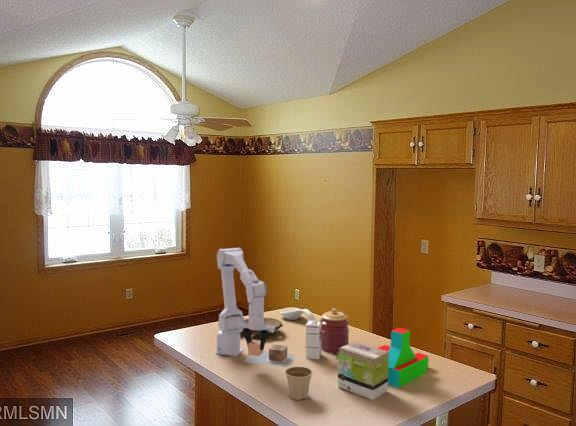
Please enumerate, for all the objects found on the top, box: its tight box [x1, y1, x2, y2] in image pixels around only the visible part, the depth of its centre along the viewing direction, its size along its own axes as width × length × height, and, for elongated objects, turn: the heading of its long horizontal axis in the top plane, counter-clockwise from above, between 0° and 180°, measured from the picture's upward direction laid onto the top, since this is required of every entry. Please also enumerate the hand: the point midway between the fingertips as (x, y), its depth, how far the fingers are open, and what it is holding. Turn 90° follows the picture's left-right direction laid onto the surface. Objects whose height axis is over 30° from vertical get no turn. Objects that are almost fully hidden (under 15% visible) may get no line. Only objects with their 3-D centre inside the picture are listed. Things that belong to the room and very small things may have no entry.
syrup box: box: [305, 320, 322, 360], centre depth 205 cm, size 6×6×14 cm
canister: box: [319, 307, 350, 354], centre depth 216 cm, size 13×13×18 cm
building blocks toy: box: [377, 327, 430, 389], centre depth 192 cm, size 19×25×18 cm
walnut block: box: [268, 344, 288, 362], centre depth 202 cm, size 6×6×4 cm
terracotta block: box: [247, 339, 264, 356], centre depth 191 cm, size 4×4×4 cm
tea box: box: [337, 341, 389, 401], centre depth 174 cm, size 15×10×15 cm, turn 48°
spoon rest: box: [279, 308, 316, 322], centre depth 256 cm, size 24×12×7 cm, turn 38°
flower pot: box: [284, 366, 314, 401], centre depth 169 cm, size 9×9×9 cm
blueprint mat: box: [243, 350, 297, 368], centre depth 203 cm, size 18×14×1 cm
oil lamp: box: [226, 315, 284, 336], centre depth 237 cm, size 22×30×8 cm
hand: (255, 348), depth 191 cm, fingers closed on terracotta block, 4 cm apart
